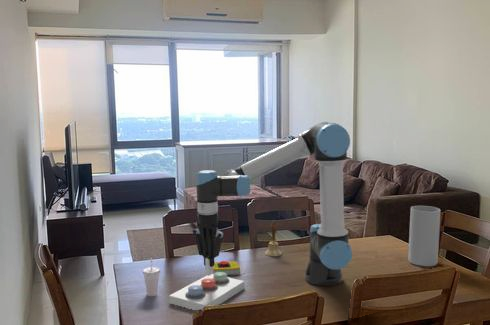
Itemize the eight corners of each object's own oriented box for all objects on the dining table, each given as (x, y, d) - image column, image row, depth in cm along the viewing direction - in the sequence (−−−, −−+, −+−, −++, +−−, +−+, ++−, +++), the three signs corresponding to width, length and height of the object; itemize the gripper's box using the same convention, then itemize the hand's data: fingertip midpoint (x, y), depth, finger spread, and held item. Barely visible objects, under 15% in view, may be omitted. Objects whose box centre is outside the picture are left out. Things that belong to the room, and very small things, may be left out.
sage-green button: (229, 278, 186) (229, 273, 185) (222, 283, 181) (222, 277, 181) (218, 276, 188) (218, 271, 188) (210, 280, 184) (210, 275, 184)
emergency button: (207, 259, 207) (241, 257, 210) (207, 269, 208) (241, 267, 210) (210, 267, 198) (245, 265, 201) (210, 277, 199) (245, 275, 201)
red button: (217, 285, 179) (217, 280, 179) (210, 290, 174) (209, 284, 174) (206, 282, 182) (206, 277, 181) (198, 287, 177) (198, 281, 177)
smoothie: (161, 290, 183) (160, 255, 181) (159, 297, 177) (158, 261, 175) (144, 291, 183) (144, 255, 181) (141, 297, 176) (140, 261, 175)
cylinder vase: (402, 262, 216) (405, 208, 213) (416, 256, 225) (419, 204, 222) (429, 269, 207) (431, 213, 204) (442, 262, 215) (445, 209, 212)
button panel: (244, 288, 185) (244, 280, 185) (205, 313, 163) (205, 304, 163) (210, 280, 194) (210, 272, 193) (169, 303, 171) (169, 294, 171)
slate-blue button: (205, 292, 172) (205, 287, 172) (196, 297, 168) (196, 291, 167) (194, 289, 175) (193, 284, 174) (185, 294, 170) (185, 288, 170)
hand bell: (262, 252, 231) (262, 220, 229) (278, 250, 233) (278, 218, 231) (268, 257, 223) (268, 224, 221) (284, 255, 225) (285, 222, 223)
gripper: (187, 212, 175) (189, 274, 178) (216, 216, 168) (218, 280, 171) (199, 208, 181) (201, 268, 184) (228, 212, 174) (229, 274, 177)
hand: (209, 274), depth 177 cm, fingers closed
